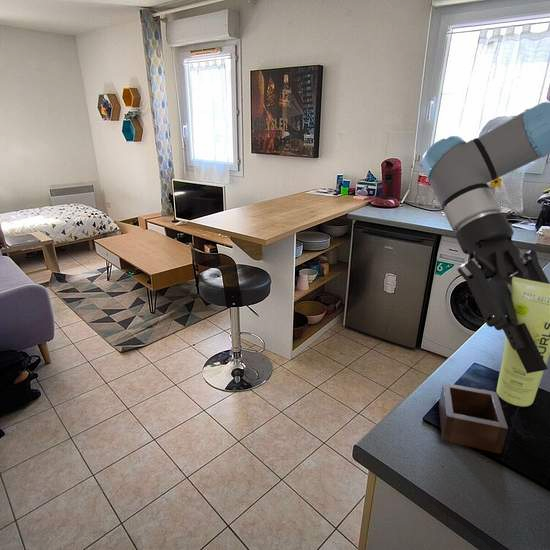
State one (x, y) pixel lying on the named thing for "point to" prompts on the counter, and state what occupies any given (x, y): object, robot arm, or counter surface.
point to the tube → (544, 331)
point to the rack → (472, 418)
